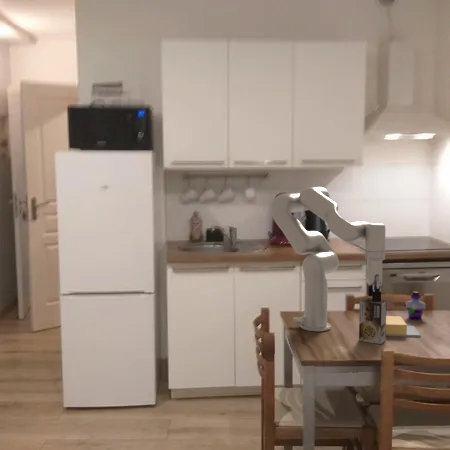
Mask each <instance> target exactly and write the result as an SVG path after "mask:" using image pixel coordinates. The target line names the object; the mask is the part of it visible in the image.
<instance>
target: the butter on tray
mask: <svg viewBox="0 0 450 450" xmlns="http://www.w3.org/2000/svg"><path fill="white" fill-rule="evenodd" d="M386 337H408V338H411V337H413V338H421V334H420V333H419V331H418V330H417V328H416V327H415V325H408V324H407V323H406V322H405V321H404V319H403V318H402V317H401V316H400V315H399V316H398V315H395V316H394V315H386Z"/></svg>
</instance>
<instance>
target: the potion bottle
mask: <svg viewBox="0 0 450 450" xmlns="http://www.w3.org/2000/svg"><path fill="white" fill-rule="evenodd" d="M410 298H411V300H408V301H405V307H406V310H407V314H408V319H409V320H413V321H414V320H415V321H418V320H419V321H420V320H421V319H422V317H423V313H424V311H425V309H426V305H427V304H426V303H425V302H424V301H421V300H420V299H421V298H422V295H421V294H420V291H412V292H411V293H410Z"/></svg>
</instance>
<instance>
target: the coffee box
mask: <svg viewBox="0 0 450 450" xmlns="http://www.w3.org/2000/svg"><path fill="white" fill-rule="evenodd" d="M358 302H359V303H358V305H359V307H358V308H359V314H358V315H359V317H358V319H359V320H358V321H359V323H358V325H359V326H358V341H359V342H365V343H371V344H376V345H377V344H378V345H381V344H382V345H383V343H384V342H386V339H387V336H386V316H387V300H386V299H381V302H373V301H372V297H371V298H370V297H364V298H362V299H361V300H359V301H358Z"/></svg>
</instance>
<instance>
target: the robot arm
mask: <svg viewBox="0 0 450 450" xmlns="http://www.w3.org/2000/svg"><path fill="white" fill-rule="evenodd" d="M270 208H271V210H270V213H271V217H272V219H273V221H274V222H275V224H276V225H277V226H278V228H279V229H280V230H281V231H282V233H283V235H284V237H285V238H286V240H287V241H288V243H289V244H290V245H291V247H292V248H293V250H294V251H295V253H296V254H298V255H300V256H301V255H307V256H306V257H305V258H304V260H303V262H302V271H303V279H304V304H303V305H304V309H303V310H304V311H303V312H304V313H303V315H302V316H300V317H297V316H296V317H294V316H293V319H292V320H293V322H294V323H296V324H300V328H301V329H302V330H304V331H309V332H326V331H328V330H329V331H330V330H331V329H332V328H331V326H332V325H331V324H330V323H328V295H329V293H328V291H329V287H328V281H327V278H326V275H328V274H331V273H334V272H336V271H337V270H338V268H339V265H340V260H339V257H338V255H337V253H336V252H335V250H334V248H333V247H332V246H331V244H330V242H329V241H328V240H327V239H326V237H325V236H324V235H323V233H321V232H319V231H317V230H306V228H305V227H304V225H303V224H302V222H301V221H300V220H299V219H298V218H297V217H295V216H294V215H293V213H301V212H306V211H310V212H312V213H313V215H315V216H317V217H318V218H320V219H321V220H322V221H323V222H324V224H325V225H326V227H327V228H328V230H329V231H330V232H331V234H333V235H334V236H336V237H338V238H339V239H340V240H342V241H344V242H346V243H355V242H359V241H361V242H362V241H364V259H365V260H366V274H365V275H366V276H365V282H366V283H367V285H368V289H367V291H368V292H367V293H368V297H371V299H372V301H373V302H381V300H382V289H381V287H382V284H383V261H384V260H386V225H385V224H384V223H380V222H367V221H362V220H360V221H352V222H349V221H348V220H346V219H345V218H343V217H342V216H340V215H339V213H338V211H339V204H338V203H336V202H335V201H333V199H330V193H329V191H328V190H327V189H326V188H325V187H322V186H309V187H305V188H304V189H302V190H301V191H300V192H292V193H291V192H288V193H281V194H279V195H277V196H276V197H274V198H273V201H272V203H271V207H270ZM308 254H309V255H308Z"/></svg>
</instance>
